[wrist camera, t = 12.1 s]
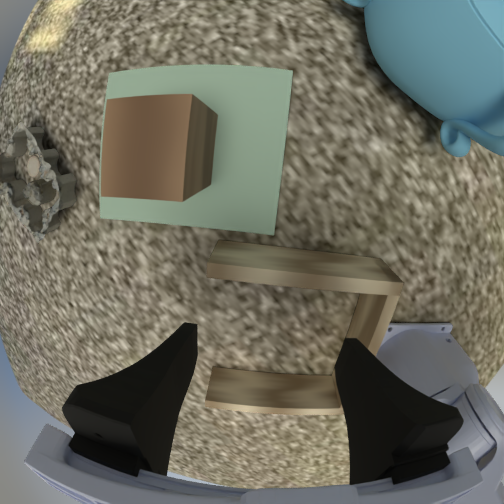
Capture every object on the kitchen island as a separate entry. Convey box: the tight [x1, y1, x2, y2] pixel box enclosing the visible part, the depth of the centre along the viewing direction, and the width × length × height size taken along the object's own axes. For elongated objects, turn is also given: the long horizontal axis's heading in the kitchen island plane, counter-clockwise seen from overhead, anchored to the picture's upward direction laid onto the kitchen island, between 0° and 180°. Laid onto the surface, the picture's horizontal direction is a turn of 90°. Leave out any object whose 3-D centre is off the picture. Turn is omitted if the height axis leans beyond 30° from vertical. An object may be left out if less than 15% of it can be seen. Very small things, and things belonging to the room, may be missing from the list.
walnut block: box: [101, 94, 218, 202], centre depth 15 cm, size 4×5×7 cm
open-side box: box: [205, 240, 404, 415], centre depth 21 cm, size 13×14×4 cm
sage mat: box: [100, 65, 293, 235], centre depth 18 cm, size 14×12×1 cm
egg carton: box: [0, 121, 77, 244], centre depth 18 cm, size 10×7×4 cm
